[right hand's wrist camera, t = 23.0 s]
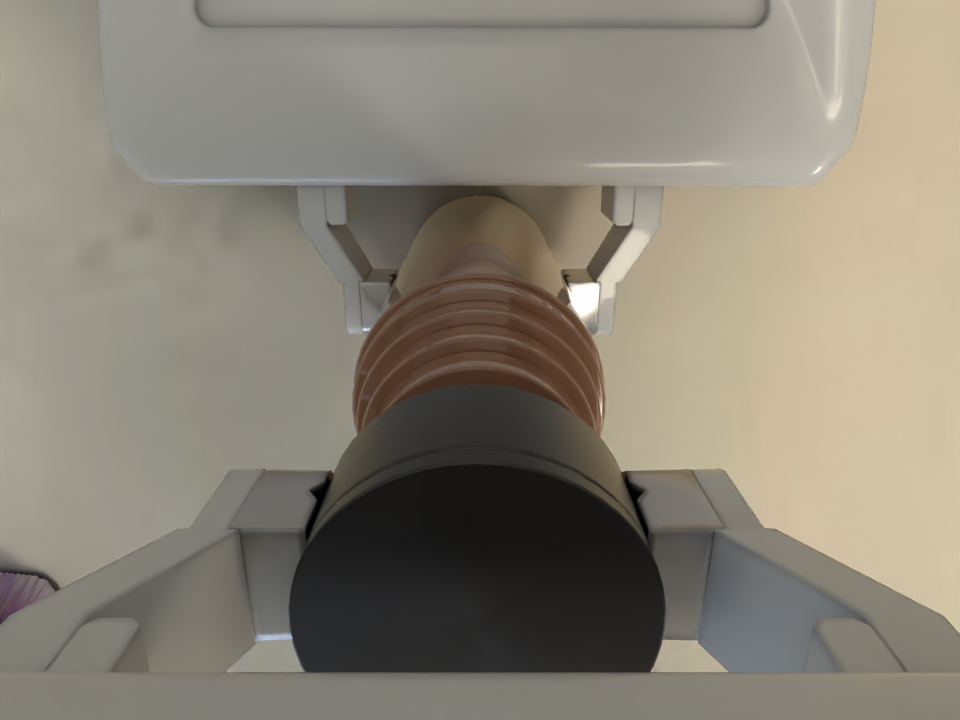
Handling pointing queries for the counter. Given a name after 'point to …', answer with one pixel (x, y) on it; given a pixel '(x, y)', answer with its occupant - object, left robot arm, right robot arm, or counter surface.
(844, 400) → the counter surface
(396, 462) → the cap
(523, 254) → the bottle
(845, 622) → the right robot arm
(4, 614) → the figurine
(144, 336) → the counter surface
